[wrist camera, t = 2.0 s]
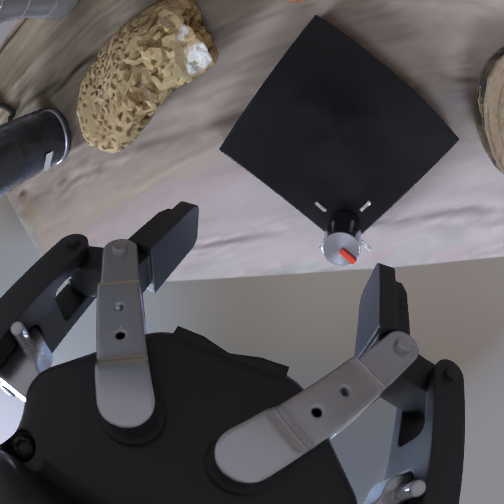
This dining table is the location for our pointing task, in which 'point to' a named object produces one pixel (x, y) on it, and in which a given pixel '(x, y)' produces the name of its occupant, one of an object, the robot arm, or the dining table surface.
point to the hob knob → (342, 238)
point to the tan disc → (492, 108)
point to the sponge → (142, 72)
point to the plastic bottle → (35, 9)
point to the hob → (337, 130)
